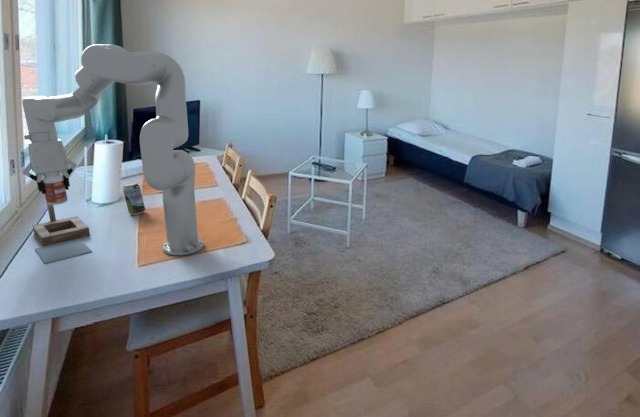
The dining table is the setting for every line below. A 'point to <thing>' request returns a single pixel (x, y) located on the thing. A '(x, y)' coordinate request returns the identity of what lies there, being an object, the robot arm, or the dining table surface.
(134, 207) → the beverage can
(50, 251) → the mat
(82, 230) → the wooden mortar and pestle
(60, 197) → the pill bottle
